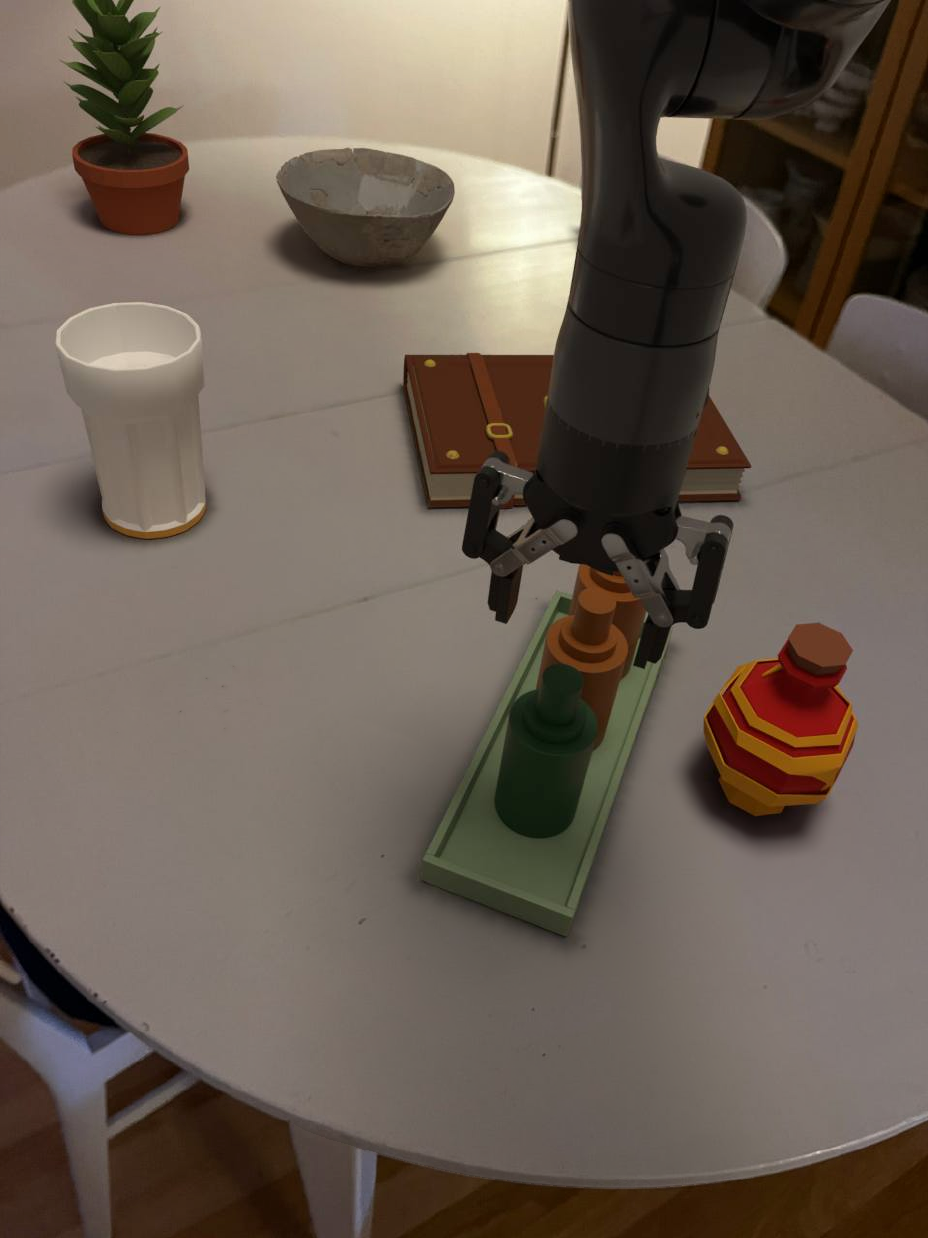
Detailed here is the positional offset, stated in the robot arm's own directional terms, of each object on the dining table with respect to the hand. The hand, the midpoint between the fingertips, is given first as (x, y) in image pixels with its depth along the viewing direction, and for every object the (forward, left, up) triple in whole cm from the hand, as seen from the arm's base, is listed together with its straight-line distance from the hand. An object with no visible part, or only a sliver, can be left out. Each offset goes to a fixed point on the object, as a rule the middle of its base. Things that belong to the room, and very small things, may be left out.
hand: (573, 636), depth 61 cm
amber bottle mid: (+6, -6, -17) cm, 18 cm away
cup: (+42, +18, -17) cm, 49 cm away
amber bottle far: (+11, -11, -17) cm, 23 cm away
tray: (+4, -4, -17) cm, 18 cm away
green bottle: (0, 0, -17) cm, 17 cm away
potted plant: (+106, +7, -17) cm, 108 cm away
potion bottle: (-4, -16, -17) cm, 24 cm away
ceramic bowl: (+88, -19, -17) cm, 92 cm away
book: (+41, -24, -17) cm, 51 cm away
